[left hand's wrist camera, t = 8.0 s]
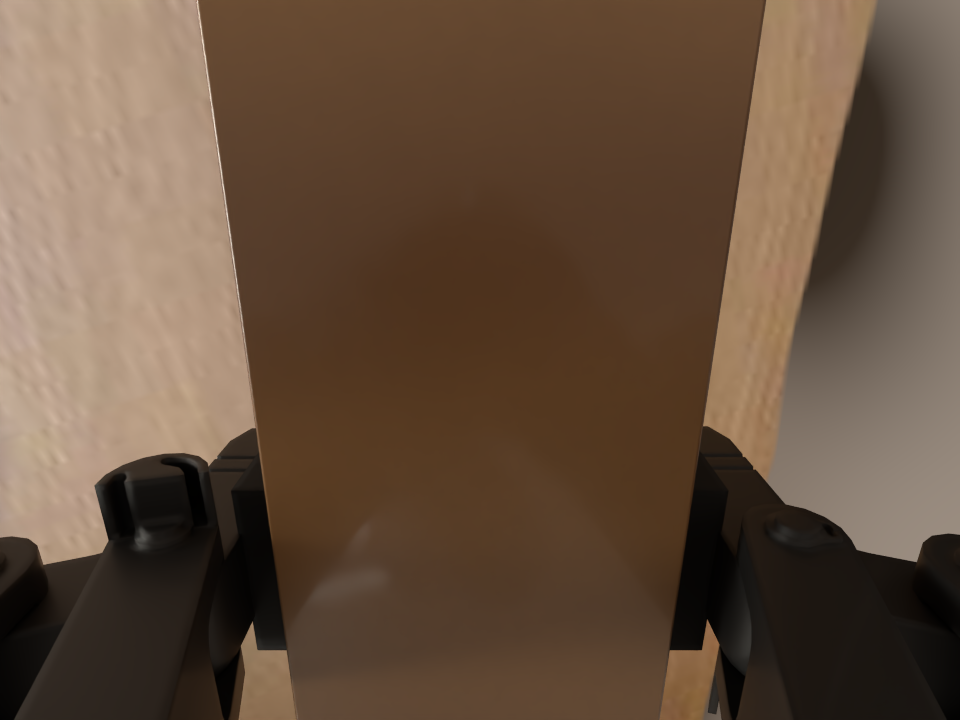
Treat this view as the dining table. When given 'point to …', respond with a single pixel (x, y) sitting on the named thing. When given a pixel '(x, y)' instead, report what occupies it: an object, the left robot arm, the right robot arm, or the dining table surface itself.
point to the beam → (479, 333)
